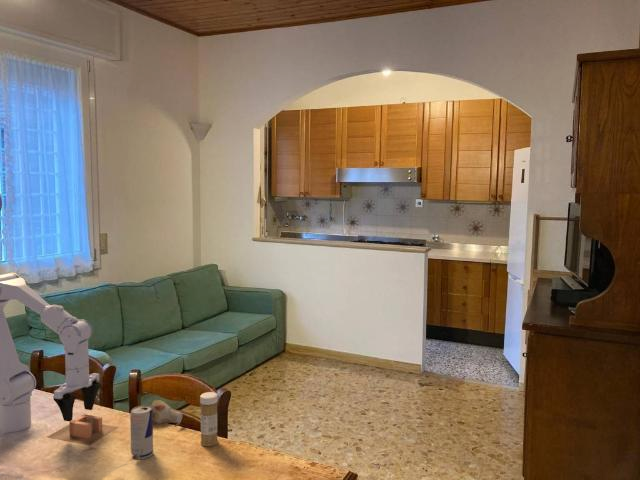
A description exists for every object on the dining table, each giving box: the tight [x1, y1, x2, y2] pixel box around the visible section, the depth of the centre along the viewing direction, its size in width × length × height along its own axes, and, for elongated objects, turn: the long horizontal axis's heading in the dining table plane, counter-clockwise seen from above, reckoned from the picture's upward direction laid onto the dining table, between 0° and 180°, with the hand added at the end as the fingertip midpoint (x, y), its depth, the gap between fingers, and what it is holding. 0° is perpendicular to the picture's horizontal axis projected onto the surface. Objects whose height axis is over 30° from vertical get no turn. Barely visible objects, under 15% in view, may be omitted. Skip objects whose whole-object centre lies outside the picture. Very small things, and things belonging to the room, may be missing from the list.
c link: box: [68, 413, 103, 439], centre depth 138 cm, size 6×5×4 cm
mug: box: [150, 399, 183, 427], centre depth 147 cm, size 8×10×10 cm
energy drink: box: [129, 405, 154, 461], centre depth 129 cm, size 5×5×12 cm
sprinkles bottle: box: [199, 391, 219, 447], centre depth 136 cm, size 5×5×14 cm
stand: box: [46, 418, 119, 446], centre depth 138 cm, size 14×11×6 cm
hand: (78, 414), depth 138 cm, fingers open, 7 cm apart
